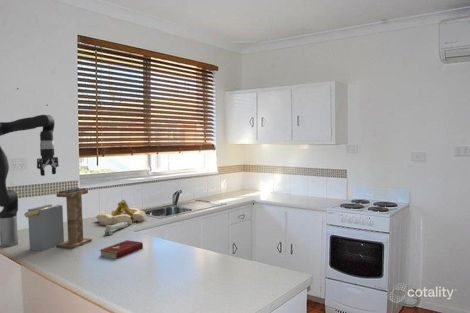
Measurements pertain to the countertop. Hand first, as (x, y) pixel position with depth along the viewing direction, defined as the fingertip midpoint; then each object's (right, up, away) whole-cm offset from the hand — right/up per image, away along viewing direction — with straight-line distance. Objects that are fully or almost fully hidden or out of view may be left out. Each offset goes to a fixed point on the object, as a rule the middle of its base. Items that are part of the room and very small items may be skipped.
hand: (48, 174), depth 232 cm
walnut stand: (+16, -42, 0) cm, 45 cm away
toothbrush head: (+32, -40, +31) cm, 60 cm away
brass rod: (0, -22, -7) cm, 23 cm away
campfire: (+26, -39, +61) cm, 77 cm away
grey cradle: (+1, -42, -3) cm, 43 cm away
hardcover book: (+50, -43, -17) cm, 68 cm away
